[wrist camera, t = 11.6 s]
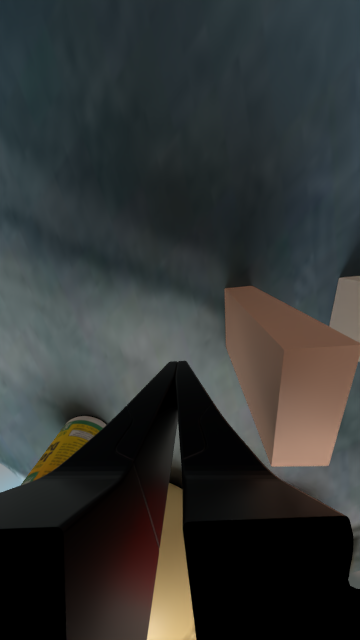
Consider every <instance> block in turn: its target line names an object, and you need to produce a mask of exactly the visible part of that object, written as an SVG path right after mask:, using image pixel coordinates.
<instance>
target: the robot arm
mask: <svg viewBox="0 0 360 640" xmlns="http://www.w3.org/2000/svg"><path fill="white" fill-rule="evenodd" d="M177 422H178V424H179V438H180V452H181V463H182V464H181V466H182V484H183V538H184V545H185V553H186V561H187V569H188V577H189V585H190V593H191V601H192V609H193V617H194V625H195V633H196V640H360V589H356V588H354V587H352V586H350V584H349V581H348V577H349V571H350V566H351V560H352V554H353V532H352V528H351V524H350V520H349V518H348V517H347V516H345V515H343V514H342V513H340V512H338V511H336V510H334V509H333V508H331V507H329V506H327V505H325V504H324V503H322V502H320V501H318V500H316V499H315V498H313V497H311V496H309V495H307V494H306V493H304V492H302V491H300V490H298V489H297V488H295V487H293V486H291V485H289V484H288V483H286V482H284V481H282V480H281V479H279V478H278V477H277V476H275V475H274V474H273V473H272V472H271V471H270V470H269V469H268V468H267V467H266V466H265V465H264V464H263V463H262V462H261V461H260V460H259V459H258V458H257V456H256V455H255V454H254V453H253V452H252V451H251V449H250V448H249V447H248V446H247V445H246V444H245V443H244V441H243V440H242V439H241V438H240V437H239V436H238V434H237V433H236V432H235V431H234V430H233V429H232V427H231V426H230V425H229V424H228V422H227V421H226V420H225V419H224V417H223V416H222V414H221V413H220V412H219V410H218V409H217V407H216V406H215V404H214V403H213V401H212V400H211V398H210V397H209V395H208V394H207V392H206V391H205V389H204V387H203V386H202V384H201V383H200V381H199V380H198V378H197V377H196V375H195V374H194V372H193V371H192V369H191V368H190V366H189V365H188V363H187V362H186V361H179V362H177V361H174V362H169V363H168V364H167V365H166V366H165V367H164V368H163V369H162V370H161V371H160V372H159V373H158V374H157V375H156V376H155V377H154V378H153V379H152V380H151V381H150V382H149V383H148V384H147V385H146V386H145V387H144V388H143V389H142V390H141V391H140V392H139V393H138V394H137V395H136V396H135V397H134V398H133V400H132V401H131V402H130V403H129V404H128V405H127V406H126V407H125V408H124V409H123V410H122V411H121V412H120V413H119V414H118V415H117V416H116V417H115V418H114V419H112V420H111V421H110V422H109V423H108V424H107V425H106V426H105V427H104V428H103V429H102V430H100V431H99V432H98V433H97V434H96V435H95V436H94V437H92V438H91V439H90V440H89V441H88V442H87V443H85V444H84V445H83V446H82V447H81V448H80V449H79V450H77V451H76V452H75V453H74V454H73V455H72V456H70V457H69V458H68V459H67V460H66V461H65V462H63V463H62V464H61V465H60V466H58V467H57V468H56V469H54V470H53V471H51V472H50V473H48V474H46V475H45V476H43V477H41V478H39V479H37V480H34V481H32V482H29V483H26V484H23V485H21V486H18V487H15V488H12V489H10V490H7V491H4V492H1V493H0V640H147V635H148V628H149V621H150V614H151V607H152V600H153V593H154V586H155V579H156V572H157V564H158V557H159V548H160V543H161V535H162V528H163V521H164V514H165V507H166V500H167V493H168V486H169V479H170V471H171V464H172V457H173V450H174V443H175V436H176V429H177Z"/></svg>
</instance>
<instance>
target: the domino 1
mask: <svg viewBox="0 0 360 640" xmlns="http://www.w3.org/2000/svg"><path fill="white" fill-rule="evenodd" d="M225 328H226V348H227V351H228V354H229V356H230V359H231V362H232V364H233V367H234V369H235V372H236V375H237V377H238V380H239V383H240V385H241V388H242V390H243V393H244V396H245V398H246V401H247V404H248V406H249V409H250V411H251V414H252V417H253V419H254V422H255V425H256V427H257V430H258V432H259V435H260V438H261V440H262V443H263V446H264V448H265V451H266V453H267V456H268V459H269V461H270V464H271V466H329V462H330V459H331V455H332V452H333V448H334V445H335V441H336V438H337V434H338V431H339V427H340V424H341V420H342V417H343V413H344V409H345V406H346V402H347V399H348V395H349V392H350V388H351V385H352V381H353V378H354V374H355V371H356V367H357V363H358V360H359V356H360V343H359V342H357V341H355V340H353V339H352V338H350V337H348V336H346V335H344V334H342V333H340V332H338V331H336V330H335V329H333V328H331V327H329V326H327V325H325V324H323V323H321V322H320V321H318V320H316V319H314V318H312V317H310V316H308V315H306V314H304V313H303V312H301V311H299V310H297V309H295V308H293V307H291V306H289V305H287V304H286V303H284V302H282V301H280V300H278V299H276V298H274V297H272V296H271V295H269V294H267V293H265V292H263V291H261V290H259V289H257V288H255V287H254V286H244V287H233V288H225Z"/></svg>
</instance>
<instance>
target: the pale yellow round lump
mask: <svg viewBox="0 0 360 640" xmlns="http://www.w3.org/2000/svg"><path fill="white" fill-rule="evenodd" d="M147 640H196V633H195V625H194V617H193V609H192V601H191V593H190V585H189V577H188V569H187V561H186V553H185V545H184V538H183V490H182V489H181V488H179V487H178V486H176V485H173V484H171V483H169V486H168V493H167V500H166V507H165V514H164V521H163V528H162V535H161V543H160V548H159V557H158V564H157V572H156V579H155V586H154V593H153V600H152V607H151V614H150V621H149V628H148V635H147Z"/></svg>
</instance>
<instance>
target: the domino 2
mask: <svg viewBox="0 0 360 640" xmlns="http://www.w3.org/2000/svg"><path fill="white" fill-rule="evenodd" d="M329 327H331V328H333V329H335V330H336V331H338V332H340V333H342V334H344V335H346V336H348V337H350V338H352V339H353V340H355V341H357V342H359V343H360V276H352V277H342V278H339V280H338V285H337V290H336V295H335V300H334V305H333V310H332V315H331V320H330V325H329ZM358 361H359V362H360V356H359V360H358Z"/></svg>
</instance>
